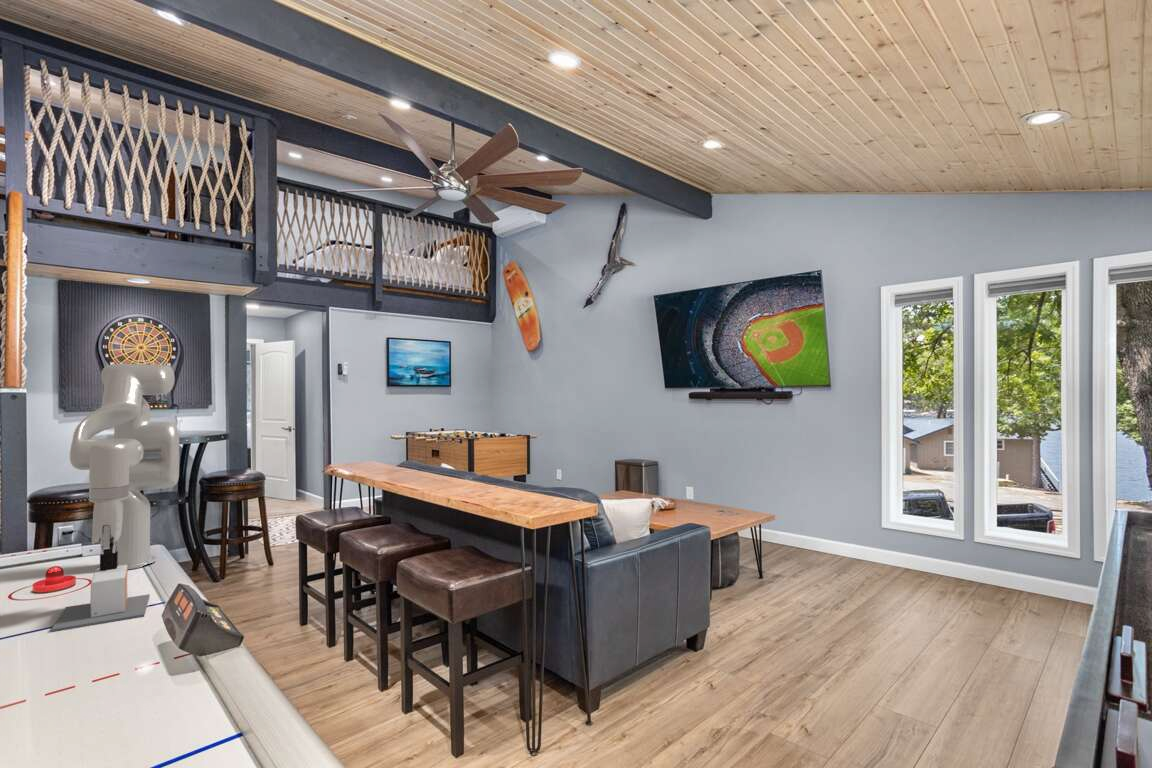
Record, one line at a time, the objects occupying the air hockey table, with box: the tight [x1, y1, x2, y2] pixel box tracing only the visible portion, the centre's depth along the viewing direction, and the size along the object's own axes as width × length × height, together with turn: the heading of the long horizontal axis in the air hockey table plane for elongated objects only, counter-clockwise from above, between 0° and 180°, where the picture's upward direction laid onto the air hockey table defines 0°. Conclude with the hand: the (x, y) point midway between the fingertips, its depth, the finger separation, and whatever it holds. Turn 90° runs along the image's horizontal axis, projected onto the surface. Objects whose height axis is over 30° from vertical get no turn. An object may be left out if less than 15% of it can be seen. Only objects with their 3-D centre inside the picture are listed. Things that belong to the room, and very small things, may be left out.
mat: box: [50, 594, 151, 633], centre depth 135 cm, size 16×16×1 cm
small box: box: [89, 565, 128, 618], centre depth 138 cm, size 8×6×13 cm
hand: (108, 569), depth 141 cm, fingers closed
